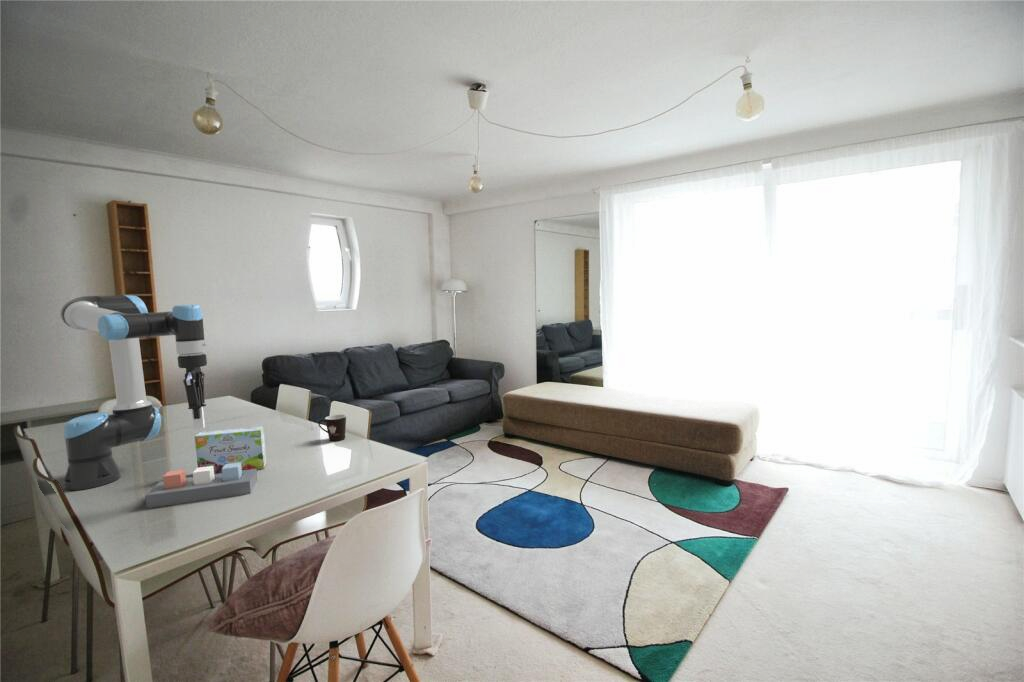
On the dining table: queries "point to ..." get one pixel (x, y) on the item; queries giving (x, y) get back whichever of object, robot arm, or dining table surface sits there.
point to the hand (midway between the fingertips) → (199, 428)
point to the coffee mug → (335, 427)
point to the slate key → (232, 471)
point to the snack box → (231, 448)
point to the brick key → (174, 479)
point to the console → (201, 490)
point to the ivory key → (203, 475)
